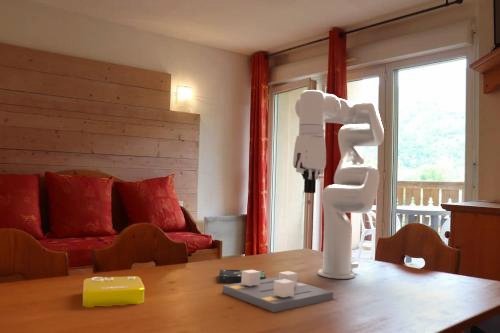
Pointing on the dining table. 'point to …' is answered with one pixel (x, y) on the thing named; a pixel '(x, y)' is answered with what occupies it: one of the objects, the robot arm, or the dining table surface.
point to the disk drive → (234, 276)
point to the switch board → (267, 300)
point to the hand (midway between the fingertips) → (309, 192)
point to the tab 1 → (250, 277)
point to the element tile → (112, 291)
